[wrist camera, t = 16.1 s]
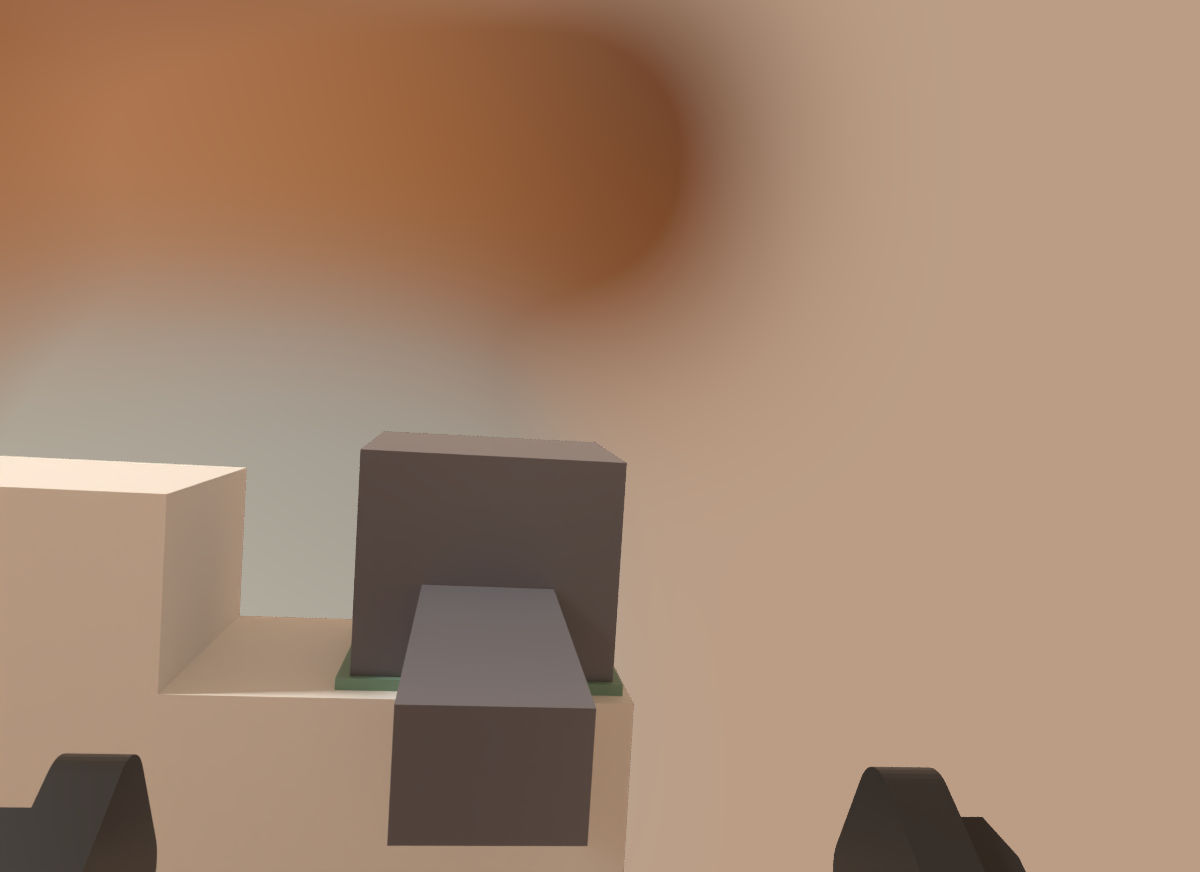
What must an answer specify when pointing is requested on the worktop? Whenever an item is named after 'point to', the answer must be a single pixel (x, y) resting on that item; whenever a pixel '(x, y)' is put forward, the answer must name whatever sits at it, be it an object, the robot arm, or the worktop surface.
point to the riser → (217, 684)
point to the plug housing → (488, 628)
